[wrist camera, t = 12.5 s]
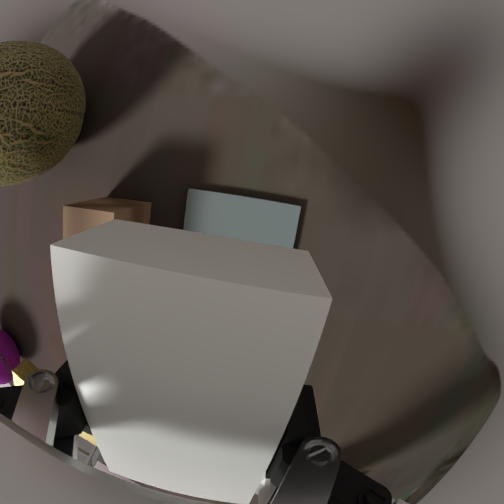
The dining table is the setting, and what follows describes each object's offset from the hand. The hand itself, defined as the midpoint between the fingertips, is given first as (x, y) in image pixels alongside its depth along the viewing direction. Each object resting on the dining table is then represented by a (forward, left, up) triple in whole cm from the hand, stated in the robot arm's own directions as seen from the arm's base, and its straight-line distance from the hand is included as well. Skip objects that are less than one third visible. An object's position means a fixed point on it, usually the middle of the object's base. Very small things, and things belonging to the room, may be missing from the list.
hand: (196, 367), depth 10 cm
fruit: (+18, -11, -13) cm, 25 cm away
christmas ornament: (+31, +18, -13) cm, 39 cm away
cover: (0, -1, +1) cm, 1 cm away
